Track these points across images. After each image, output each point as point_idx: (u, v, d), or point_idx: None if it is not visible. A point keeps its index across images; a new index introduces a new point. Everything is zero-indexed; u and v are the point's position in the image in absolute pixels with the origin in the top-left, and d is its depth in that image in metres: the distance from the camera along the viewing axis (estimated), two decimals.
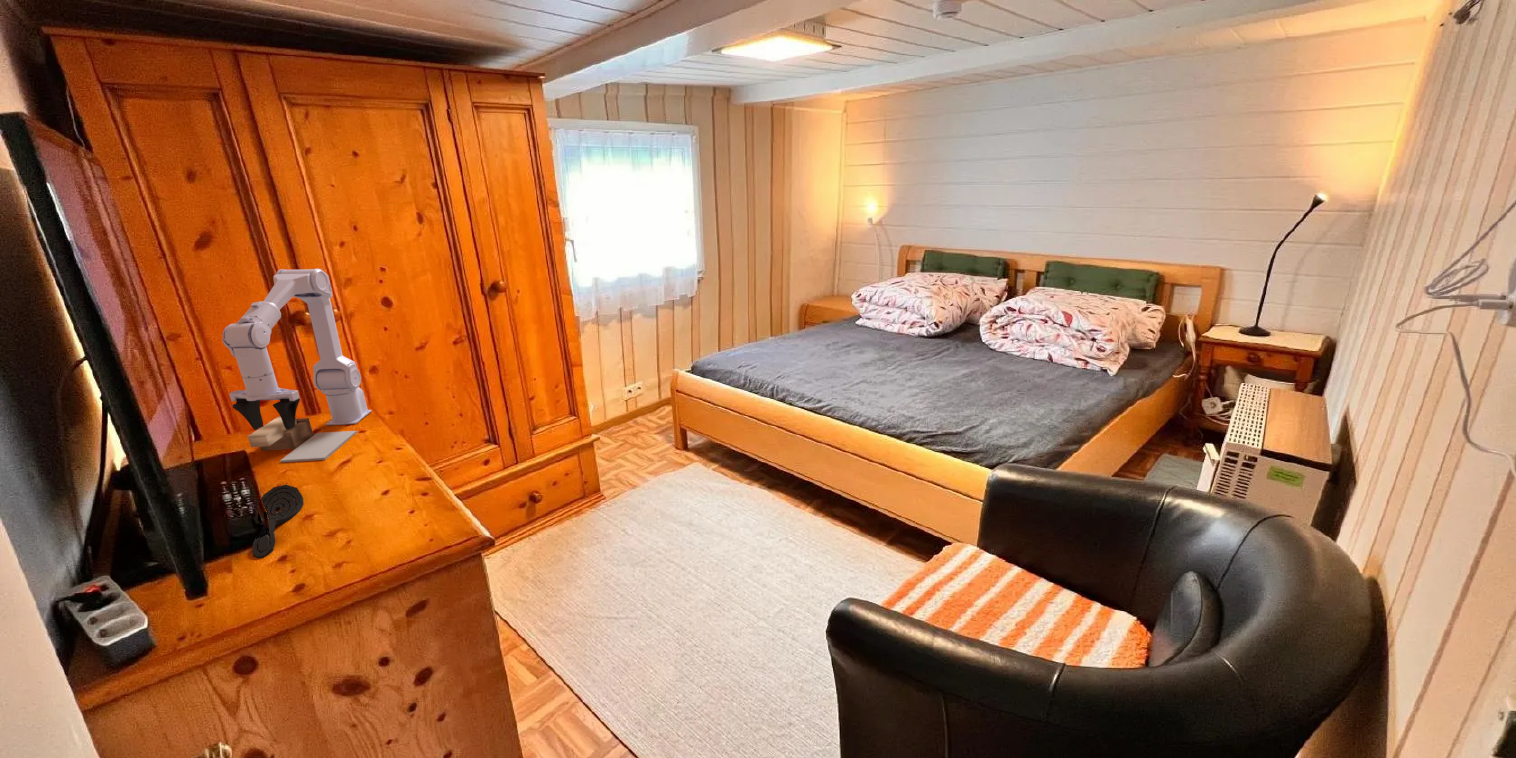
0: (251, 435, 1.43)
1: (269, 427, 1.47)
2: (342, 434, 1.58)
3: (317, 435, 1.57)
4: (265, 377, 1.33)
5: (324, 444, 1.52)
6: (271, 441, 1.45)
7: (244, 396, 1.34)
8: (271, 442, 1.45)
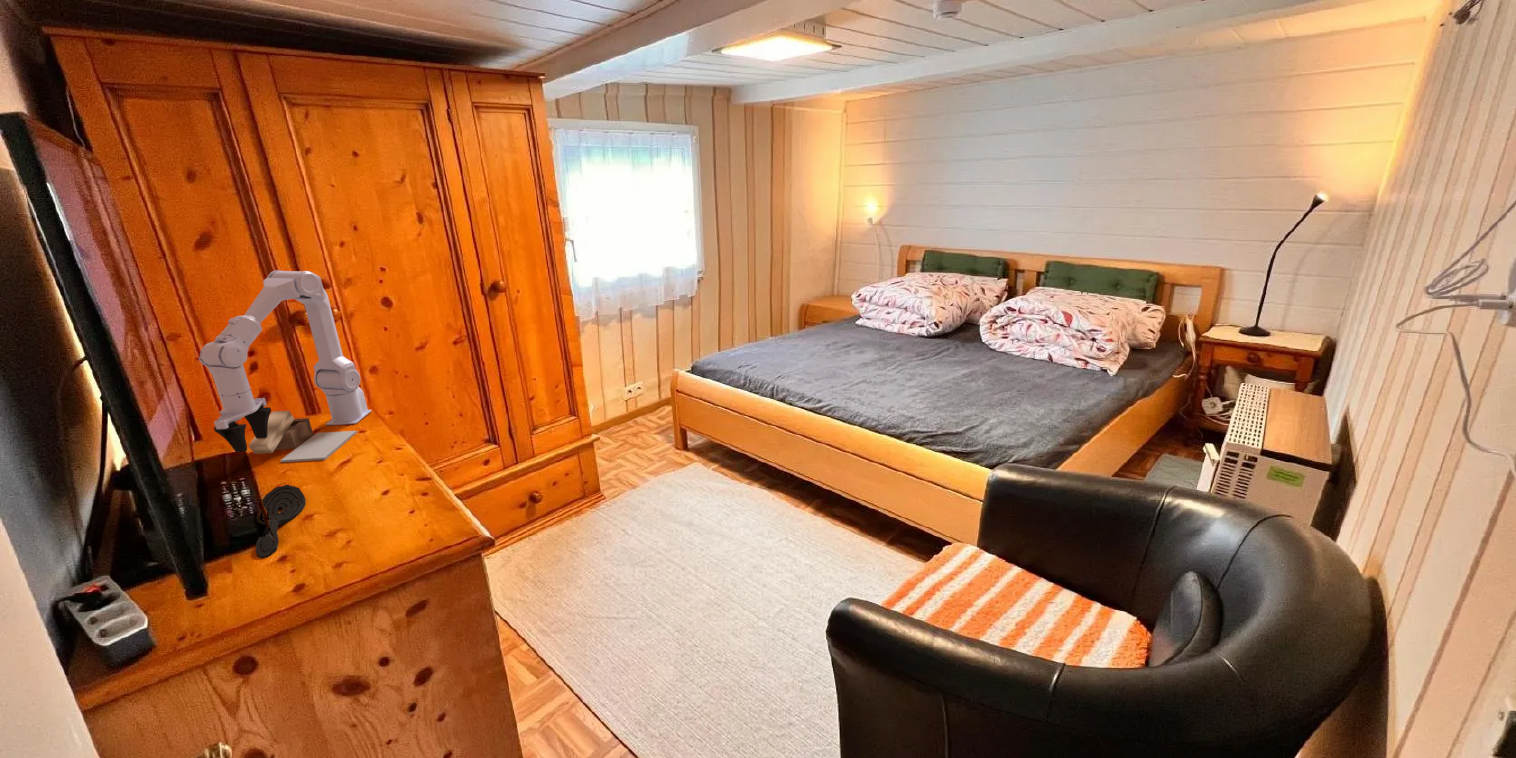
0: (252, 444, 1.43)
1: (267, 431, 1.46)
2: (342, 434, 1.58)
3: (317, 435, 1.57)
4: (221, 397, 1.34)
5: (324, 444, 1.52)
6: (273, 447, 1.46)
7: None
8: (273, 448, 1.46)
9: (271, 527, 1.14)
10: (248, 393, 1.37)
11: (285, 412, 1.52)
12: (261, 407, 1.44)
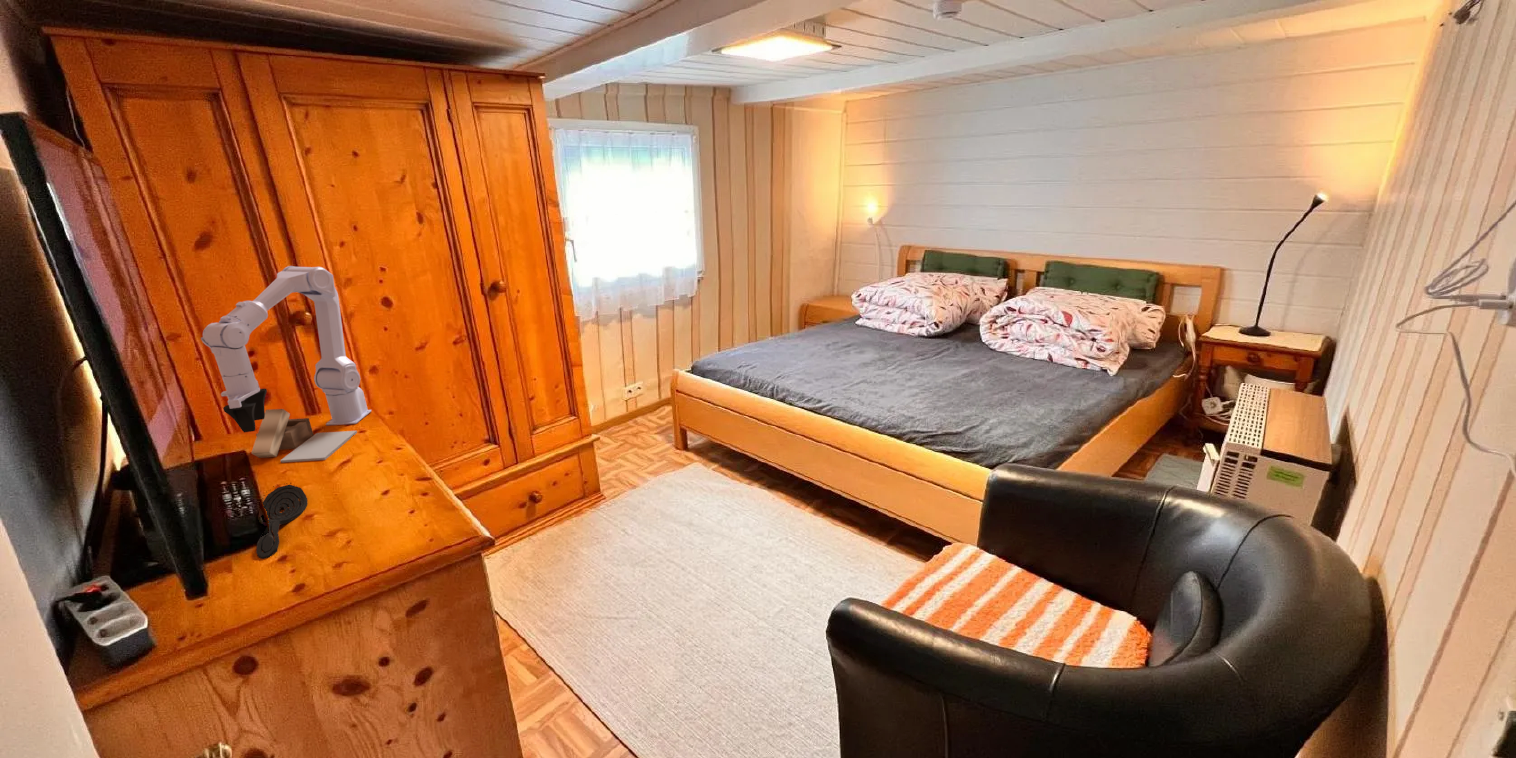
0: (254, 451, 1.44)
1: (266, 435, 1.46)
2: (342, 434, 1.58)
3: (317, 435, 1.57)
4: (227, 378, 1.35)
5: (324, 444, 1.52)
6: (276, 451, 1.47)
7: None
8: (276, 452, 1.47)
9: (272, 527, 1.14)
10: (252, 373, 1.39)
11: (280, 411, 1.50)
12: None
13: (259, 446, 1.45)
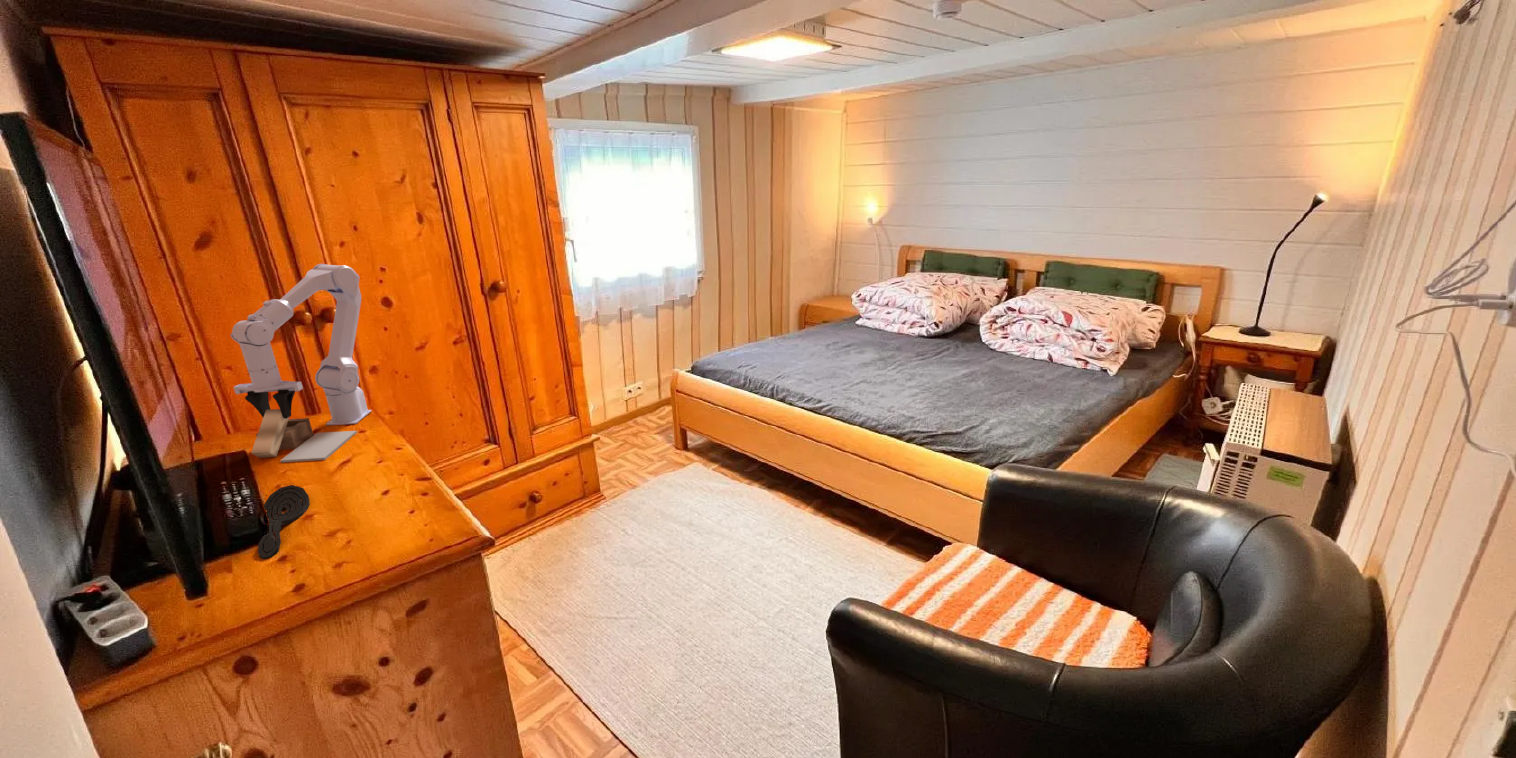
0: (254, 451, 1.44)
1: (266, 435, 1.46)
2: (342, 434, 1.58)
3: (317, 435, 1.57)
4: (271, 370, 1.45)
5: (324, 444, 1.52)
6: (276, 451, 1.47)
7: (250, 388, 1.45)
8: (276, 452, 1.47)
9: (274, 528, 1.14)
10: None
11: (280, 411, 1.50)
12: None
13: (259, 446, 1.45)
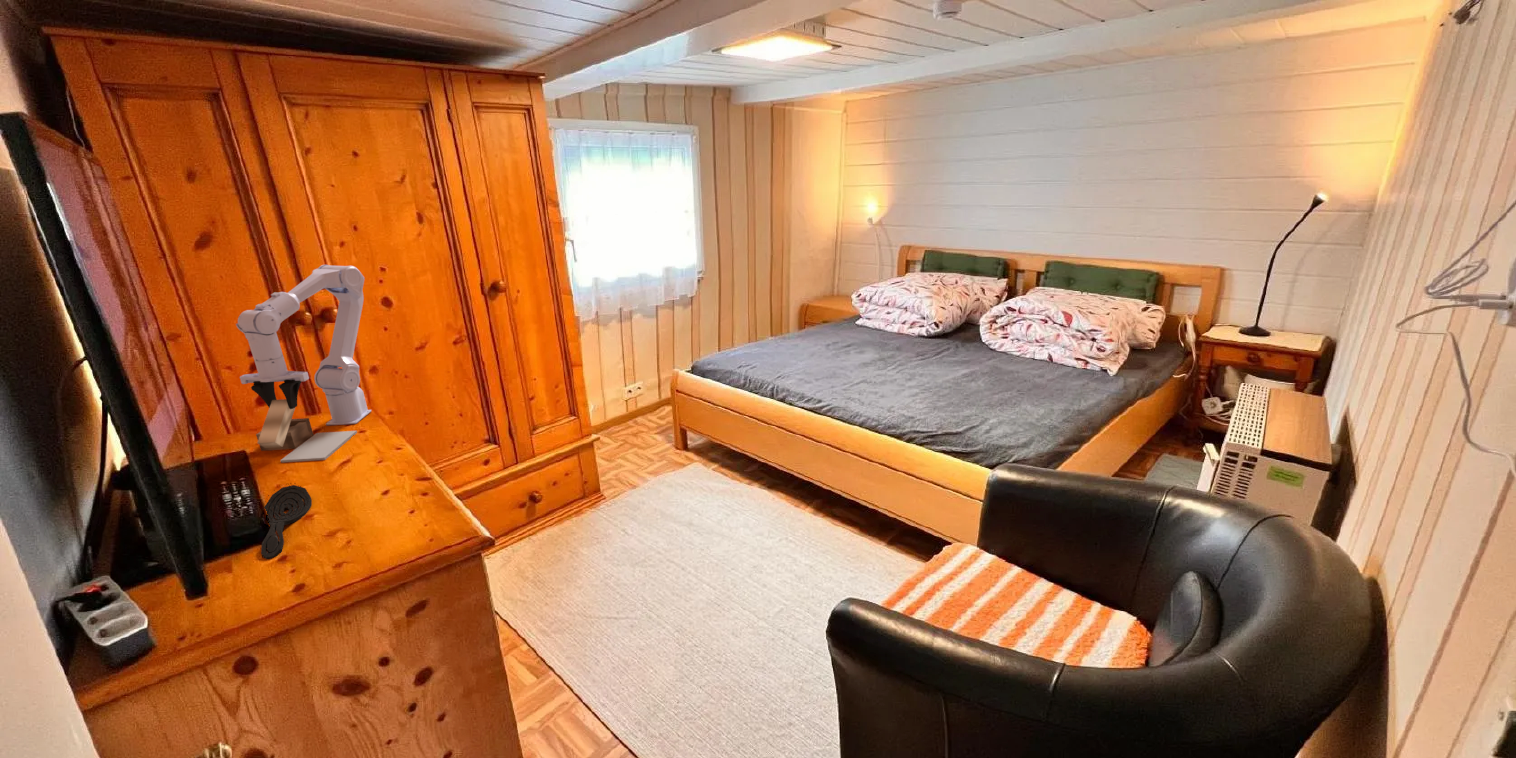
0: (260, 441, 1.43)
1: (272, 425, 1.45)
2: (342, 434, 1.58)
3: (317, 435, 1.57)
4: (277, 360, 1.45)
5: (324, 444, 1.52)
6: (282, 441, 1.46)
7: (256, 378, 1.45)
8: (282, 442, 1.46)
9: (277, 528, 1.14)
10: None
11: (286, 401, 1.49)
12: None
13: (265, 436, 1.44)
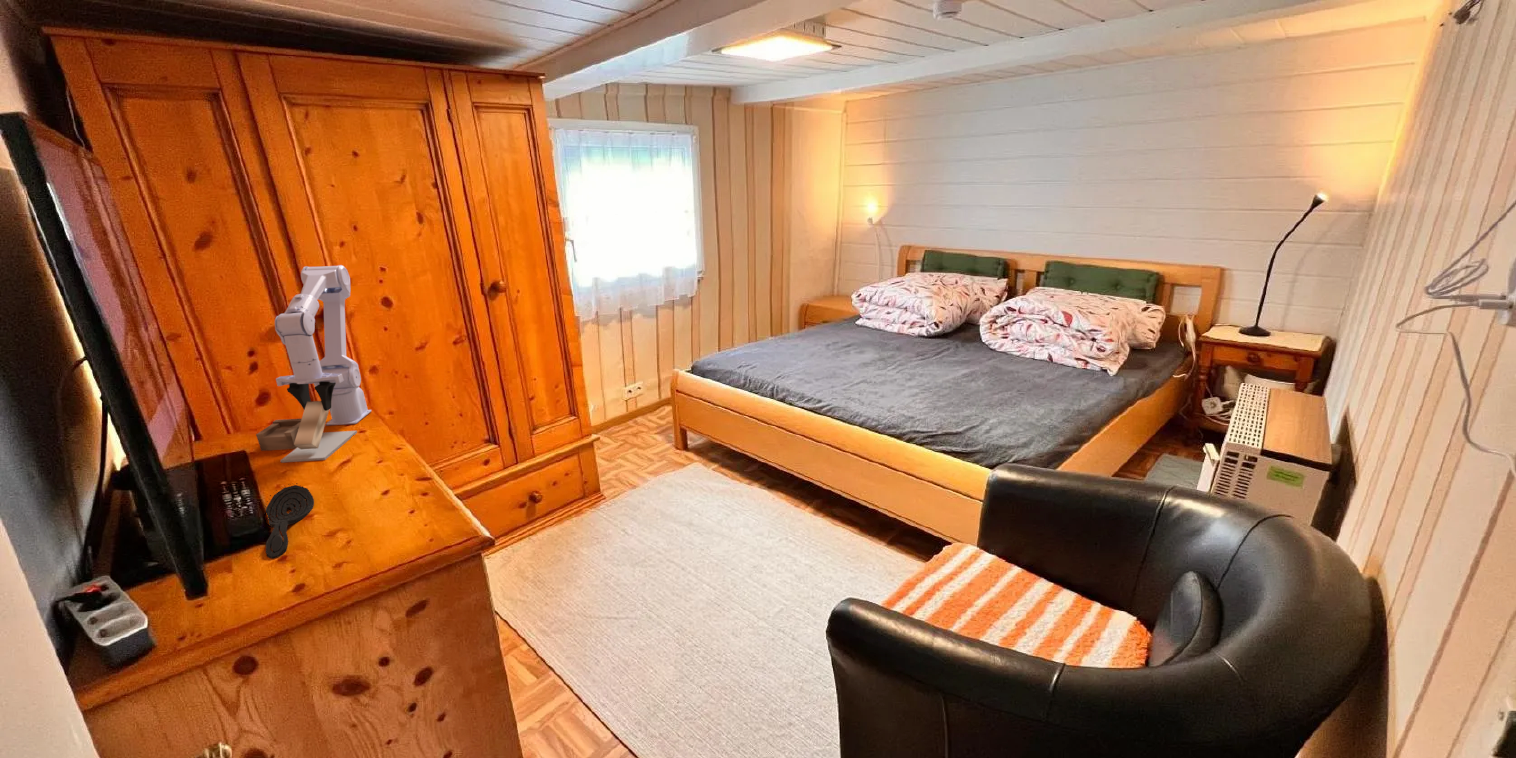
0: (297, 442, 1.45)
1: (308, 427, 1.47)
2: (342, 434, 1.58)
3: None
4: (313, 362, 1.46)
5: (324, 444, 1.52)
6: (317, 442, 1.47)
7: (292, 380, 1.46)
8: (318, 443, 1.47)
9: (280, 527, 1.14)
10: None
11: (320, 403, 1.50)
12: None
13: (301, 437, 1.45)
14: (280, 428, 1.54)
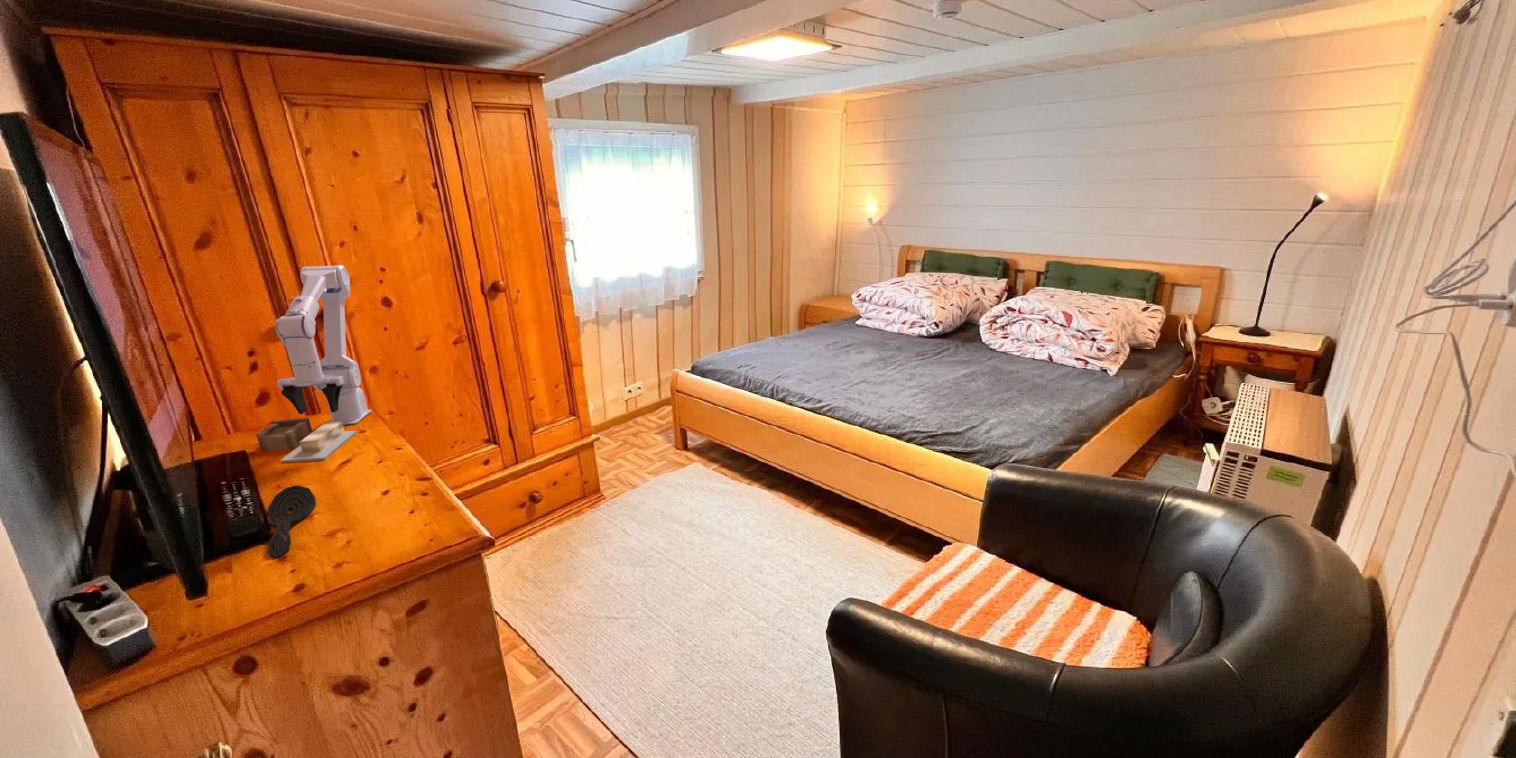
0: (303, 441, 1.47)
1: (318, 433, 1.51)
2: (342, 434, 1.58)
3: None
4: (314, 364, 1.46)
5: None
6: (321, 446, 1.49)
7: (293, 383, 1.46)
8: (321, 447, 1.49)
9: (283, 527, 1.14)
10: None
11: (338, 422, 1.58)
12: None
13: (309, 438, 1.48)
14: (280, 428, 1.54)
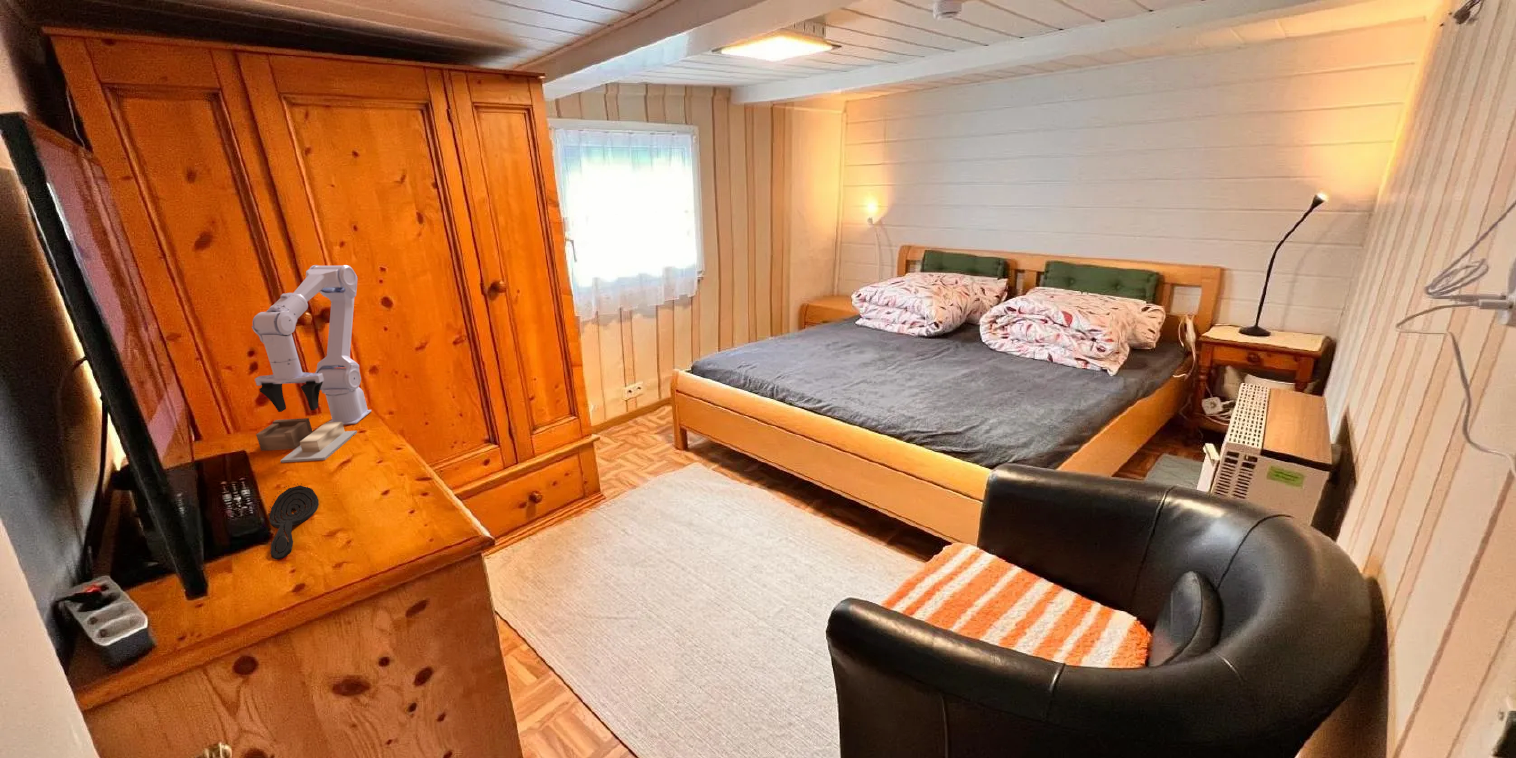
0: (303, 441, 1.47)
1: (318, 433, 1.51)
2: (342, 434, 1.58)
3: None
4: (292, 361, 1.45)
5: None
6: (321, 446, 1.49)
7: (271, 380, 1.44)
8: (321, 447, 1.49)
9: (285, 528, 1.14)
10: None
11: (338, 422, 1.58)
12: None
13: (309, 438, 1.48)
14: (280, 428, 1.54)
